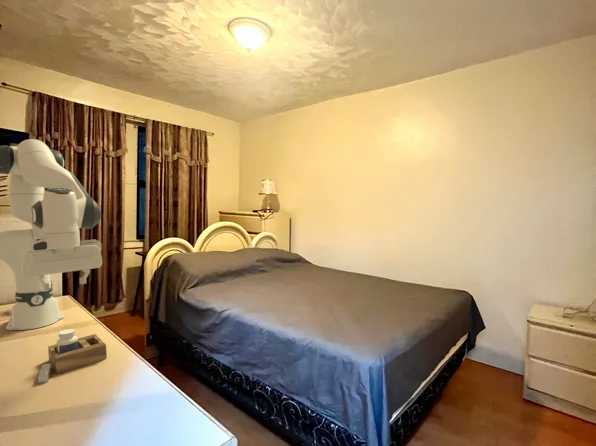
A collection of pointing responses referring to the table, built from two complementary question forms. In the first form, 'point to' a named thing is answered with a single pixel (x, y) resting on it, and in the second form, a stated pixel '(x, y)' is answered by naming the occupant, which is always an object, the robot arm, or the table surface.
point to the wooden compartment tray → (78, 354)
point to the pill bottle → (67, 341)
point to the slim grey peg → (45, 373)
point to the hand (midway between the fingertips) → (65, 286)
